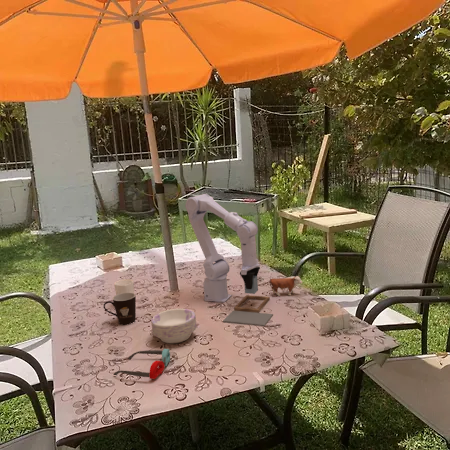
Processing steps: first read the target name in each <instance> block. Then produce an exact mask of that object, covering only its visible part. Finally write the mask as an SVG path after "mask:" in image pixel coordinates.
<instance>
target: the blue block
mask: <svg viewBox="0 0 450 450" xmlns="http://www.w3.org/2000/svg"><path fill="white" fill-rule="evenodd" d="M243 283H244V282H243ZM258 284H259V281H258V275H257V276H253V283H252V289H246V286H245V283H244V294H248V295H249V294H250V295H252V294H253V295H255V294H256V293H257V292H258V291H259V285H258Z"/></svg>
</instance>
